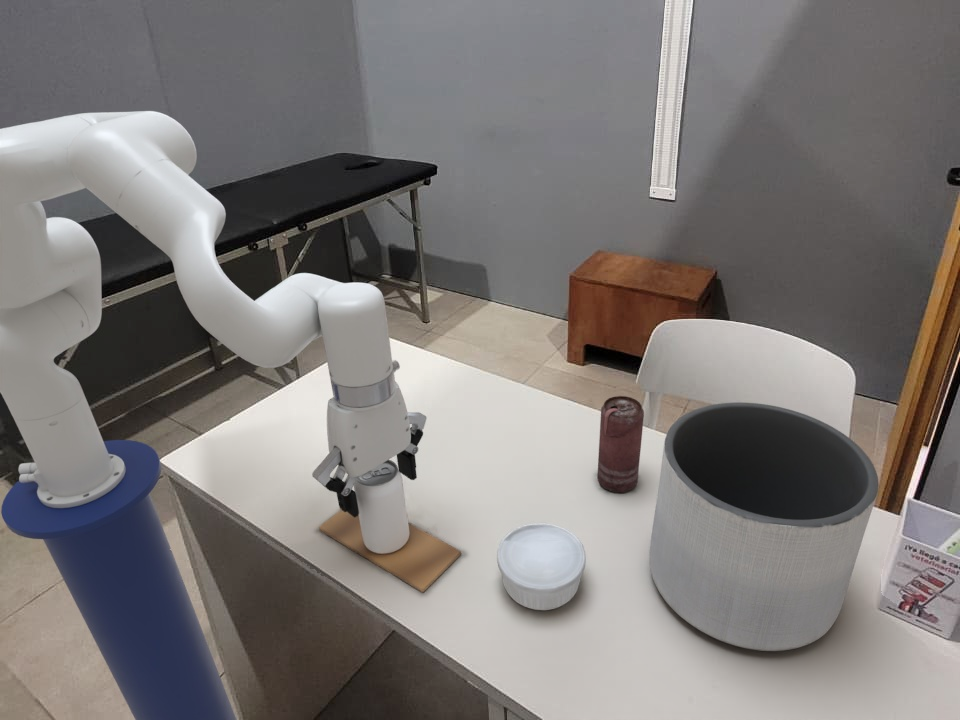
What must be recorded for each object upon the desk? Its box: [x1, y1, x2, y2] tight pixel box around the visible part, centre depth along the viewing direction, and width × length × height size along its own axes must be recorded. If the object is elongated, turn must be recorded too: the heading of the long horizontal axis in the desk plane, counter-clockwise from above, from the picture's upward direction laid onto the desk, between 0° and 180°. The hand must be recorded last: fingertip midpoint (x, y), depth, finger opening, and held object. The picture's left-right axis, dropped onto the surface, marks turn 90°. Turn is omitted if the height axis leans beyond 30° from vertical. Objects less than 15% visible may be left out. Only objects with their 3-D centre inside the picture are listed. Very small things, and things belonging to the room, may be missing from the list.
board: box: [318, 509, 462, 593], centre depth 91 cm, size 20×8×1 cm, turn 53°
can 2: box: [596, 395, 645, 494], centre depth 97 cm, size 6×6×14 cm
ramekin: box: [496, 522, 587, 611], centre depth 82 cm, size 11×11×5 cm
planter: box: [649, 402, 879, 652], centre depth 78 cm, size 23×23×20 cm
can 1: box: [353, 459, 409, 554], centre depth 88 cm, size 6×6×12 cm
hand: (380, 492), depth 87 cm, fingers open, 9 cm apart
